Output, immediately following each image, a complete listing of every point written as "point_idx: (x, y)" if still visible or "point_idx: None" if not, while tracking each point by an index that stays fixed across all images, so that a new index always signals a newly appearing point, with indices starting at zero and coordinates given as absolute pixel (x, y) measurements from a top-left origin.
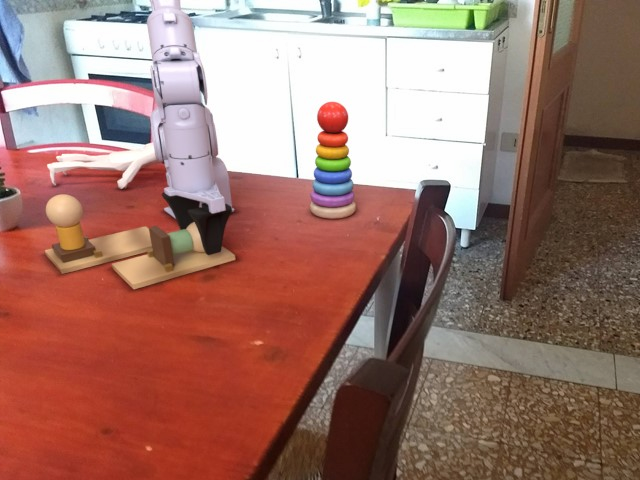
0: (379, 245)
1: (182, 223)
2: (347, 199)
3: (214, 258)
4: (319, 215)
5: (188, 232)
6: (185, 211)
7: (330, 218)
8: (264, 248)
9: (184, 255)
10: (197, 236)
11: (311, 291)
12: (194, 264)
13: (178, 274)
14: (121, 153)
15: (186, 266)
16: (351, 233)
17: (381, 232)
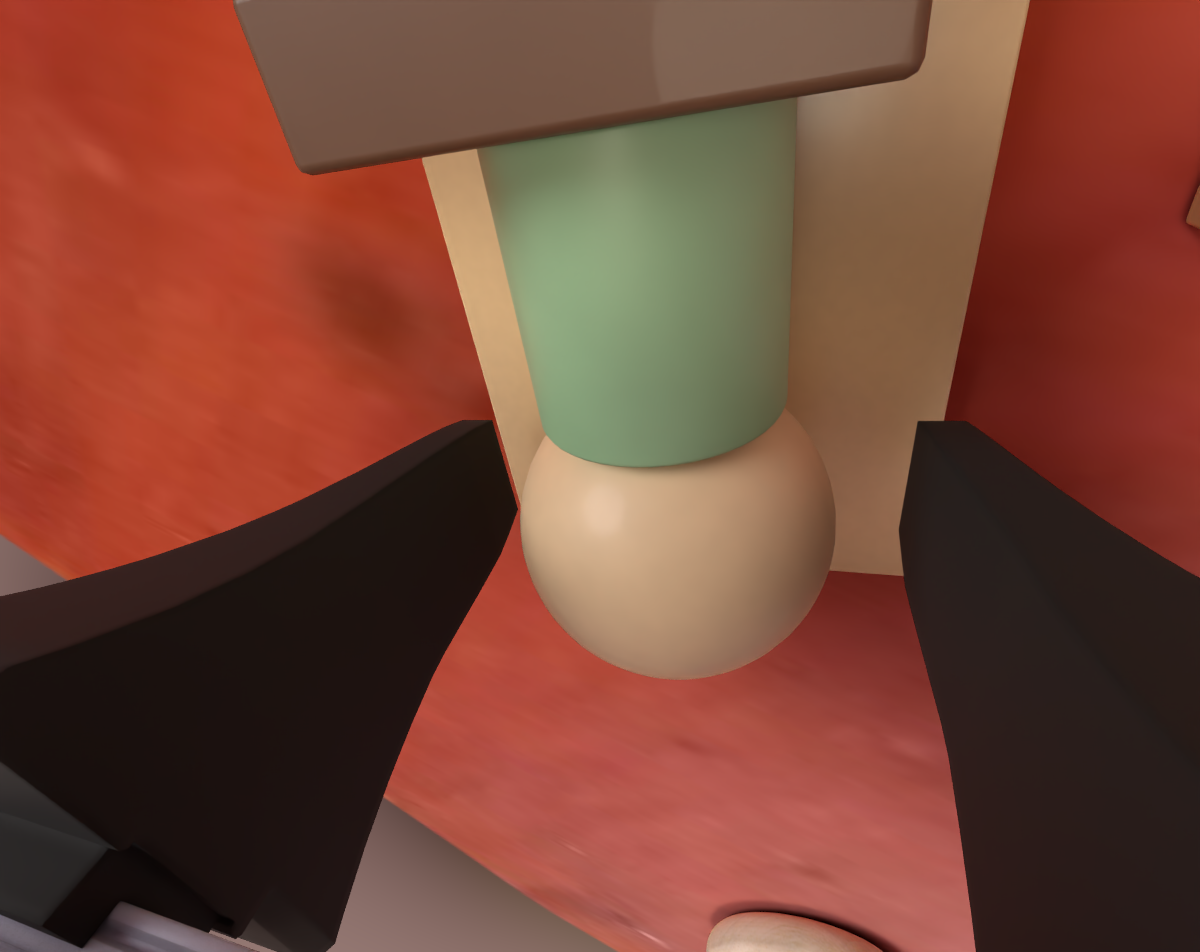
0: (460, 834)
1: (971, 526)
2: None
3: (533, 444)
4: (776, 922)
5: (572, 454)
6: (1001, 708)
7: (740, 913)
8: (615, 670)
9: None
10: (528, 484)
11: None
12: (493, 292)
13: None
14: None
15: (480, 222)
16: (583, 859)
17: (546, 884)
